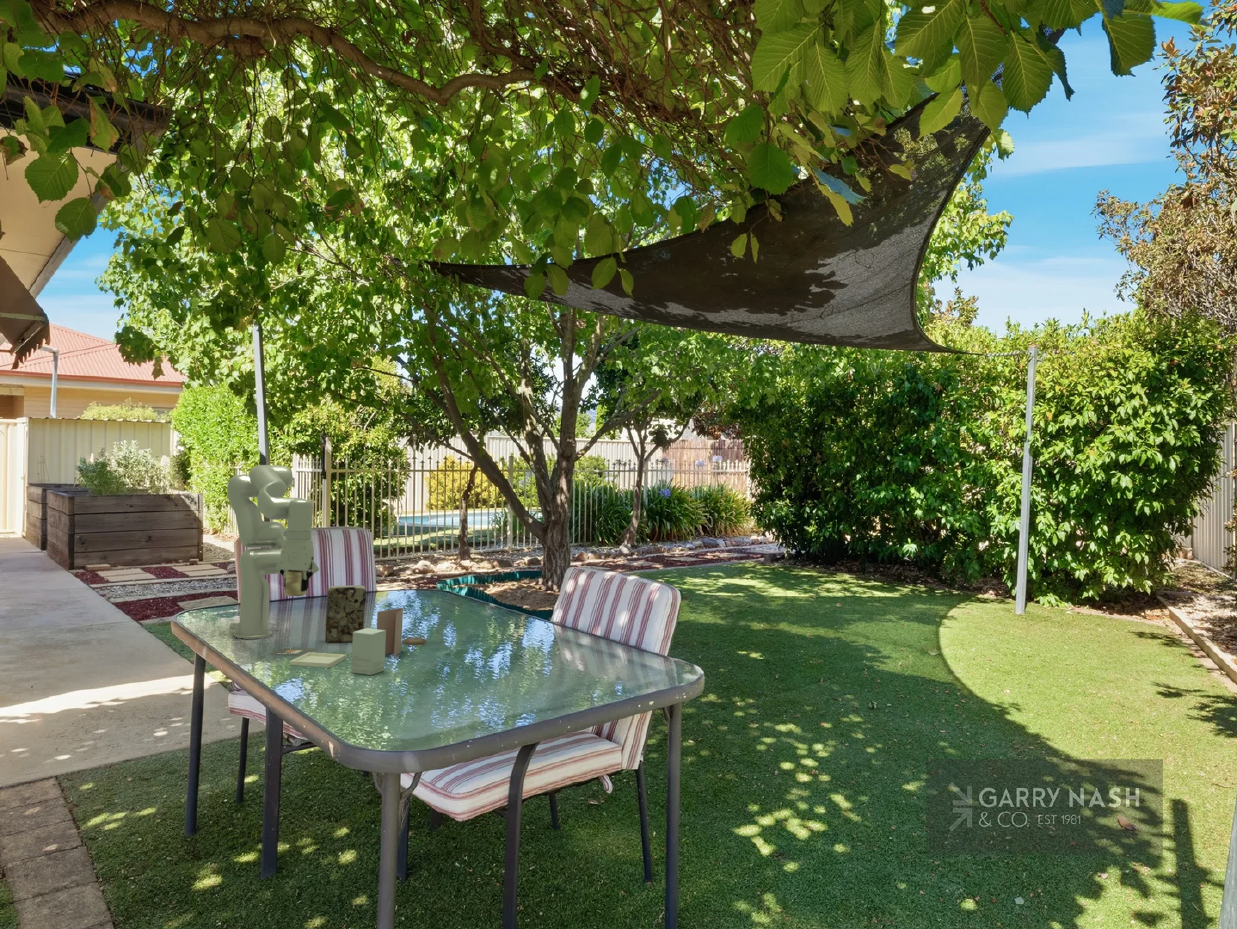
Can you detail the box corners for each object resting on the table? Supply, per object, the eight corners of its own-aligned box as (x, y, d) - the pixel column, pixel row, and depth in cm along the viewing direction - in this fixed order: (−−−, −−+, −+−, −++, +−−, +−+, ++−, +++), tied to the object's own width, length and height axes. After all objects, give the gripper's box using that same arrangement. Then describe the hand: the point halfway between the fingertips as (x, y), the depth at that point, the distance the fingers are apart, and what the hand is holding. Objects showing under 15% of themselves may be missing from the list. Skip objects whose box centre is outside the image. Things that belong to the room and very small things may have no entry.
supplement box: (385, 670, 247) (387, 630, 247) (370, 675, 240) (372, 634, 240) (365, 667, 249) (367, 627, 249) (350, 672, 242) (352, 631, 242)
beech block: (284, 595, 263) (286, 571, 263) (292, 593, 268) (293, 569, 268) (299, 596, 263) (300, 572, 263) (306, 594, 267) (307, 570, 268)
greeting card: (399, 650, 274) (401, 607, 274) (414, 653, 270) (416, 610, 271) (373, 656, 264) (375, 611, 265) (389, 659, 260) (391, 614, 261)
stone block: (361, 638, 290) (364, 584, 291) (364, 642, 284) (367, 587, 284) (323, 640, 284) (326, 585, 284) (326, 644, 278) (329, 587, 278)
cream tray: (289, 665, 247) (290, 660, 247) (308, 656, 260) (308, 652, 260) (329, 668, 246) (329, 663, 246) (345, 659, 259) (346, 654, 259)
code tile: (266, 655, 259) (266, 654, 259) (284, 647, 271) (284, 646, 271) (301, 657, 258) (301, 656, 258) (318, 649, 270) (318, 648, 270)
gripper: (268, 535, 262) (265, 590, 262) (318, 538, 261) (315, 593, 261) (280, 534, 270) (277, 587, 270) (328, 536, 269) (325, 590, 268)
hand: (296, 589), depth 265 cm, fingers closed on beech block, 5 cm apart
